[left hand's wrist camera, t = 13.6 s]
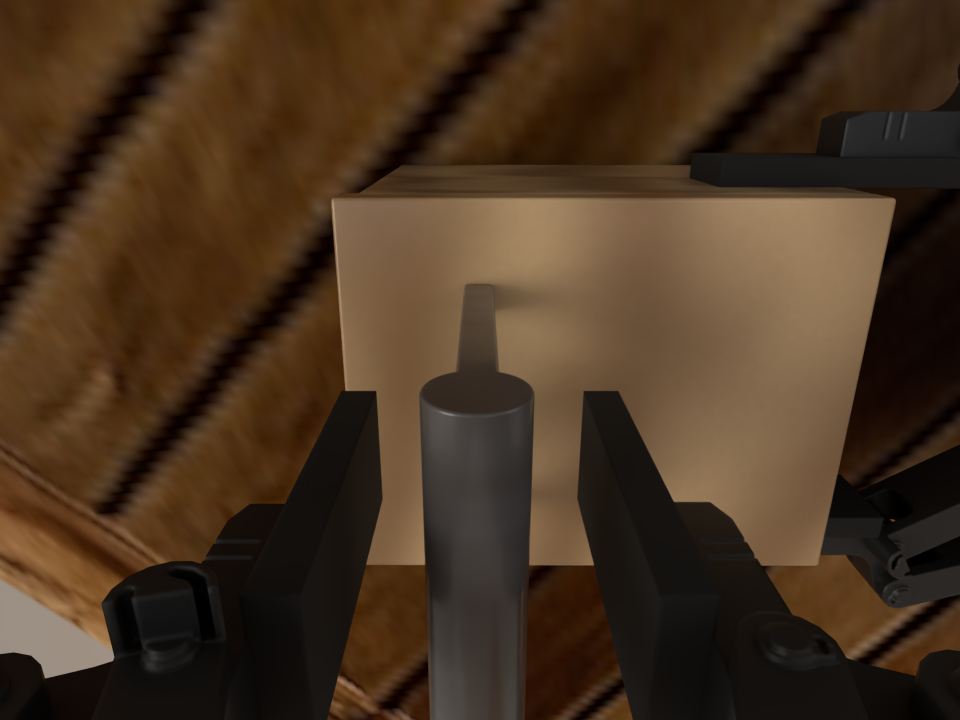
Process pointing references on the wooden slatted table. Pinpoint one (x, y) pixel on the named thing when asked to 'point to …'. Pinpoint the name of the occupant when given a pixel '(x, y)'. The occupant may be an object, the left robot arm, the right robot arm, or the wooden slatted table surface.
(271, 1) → the wooden slatted table surface
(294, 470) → the wooden slatted table surface
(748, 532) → the lid
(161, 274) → the wooden slatted table surface
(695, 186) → the chest
